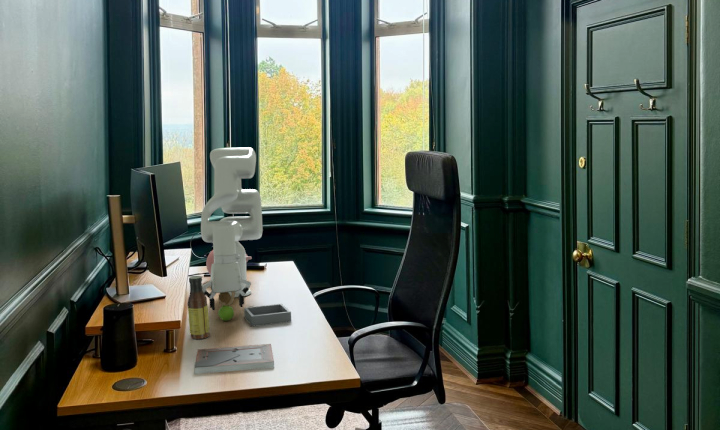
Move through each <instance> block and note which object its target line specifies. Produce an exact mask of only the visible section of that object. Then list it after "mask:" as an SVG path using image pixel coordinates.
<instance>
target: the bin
mask: <svg viewBox="0 0 720 430" xmlns="http://www.w3.org/2000/svg"><path fill="white" fill-rule="evenodd" d="M243 311H244V318H245V320H246V321H247V322H248V323H249V324H250V326H251V327H252V326H253V327H259V326H267V325H276V324H283V323H292V311H291V310H289V309H288V307H286V306H285V305H284V304H283V303H275V304H266V305H265V304H264V305H257V306H250V307H244V309H243Z"/></svg>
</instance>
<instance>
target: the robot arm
mask: <svg viewBox="0 0 720 430" xmlns="http://www.w3.org/2000/svg"><path fill="white" fill-rule="evenodd" d="M209 159H210V163H211V166H212V167H213V169H214V172H213V173H214V174H213V175H214V183H213V184H214V187H213V189H214V190H213V192H214V193H213V195H212V197H211V198H210V199H209V200H208V201H207V202H206V204H205V205H204V206H203V209H202V212H201V215H200V219H201V220H200V235H201V239H202V240H203V241H204V242H205V243H211V244H212V245H213V246H212V247H213V249H212V250H214V263H213V264H212V266H211V275H210V280H209V281H208V282H206V283H204V284H203V285H202V291H203V292H204V294H205V296H206V298H207V299H209V308H210V309H211V310H212V311H215V310H216V303H215V300H216V299H215V298H214V297H215V296H216V294H220V293H225V292H228V293H229V294H230V295H232V293H231V292H234V291H235V297H234V298H238V306H239V307H240V308H243V307H244V305H245V297H247V296H249V295H251V294H252V290H251V289H250V288H251V285H252V282H251V281H249V280H248V277H247V276H248V275H247V262H246V254H247V253H246V250H245V249H246V248H244V246H243V245H242V244H241V243H240V242H239V241H248V240H249V241H253V240H259V239H261V238H262V236H263V231H264V229H263V214H262V212H263V211H262V208H263V207H262V199H261V198H262V197H261V194H260V192H259V191H258V190H257V189H253V188H252V189H251V188H249V189H248V188H247V189H246V188H245V189H243V188H242V179H243V180H244V179H252V178H253V177H254V175H255V173H256V164H257V163H256V162H257V154H256V151H255V150H254V148H252V147H220V148H215V149H212V150H211V151H210V153H209ZM218 209H221V211H222V212H223V213H225V214H235V215H236V214H237V215H238V214H249V216H246V215H245V216H227V217H223V218H221V219H220V220H212V221H210V218H211V215H212V214H213V213H214V212H215V211H216V210H218ZM209 287H210V290H211V291H210V292H208V291H207V289H208V288H209Z"/></svg>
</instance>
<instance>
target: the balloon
mask: <svg viewBox="0 0 720 430" xmlns="http://www.w3.org/2000/svg"><path fill="white" fill-rule="evenodd" d="M252 259H253V258H252V256H248V254H247V253H246V263H248V261H249V260H252ZM213 263H214V250H213V249H212V250H211V251H210V252H209V254H208V255H207V258H206V263H205V264H206V265H205V266H206V270H207V272H208V274H209V275H210V276H211V266H212V264H213Z"/></svg>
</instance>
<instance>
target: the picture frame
mask: <svg viewBox="0 0 720 430" xmlns="http://www.w3.org/2000/svg"><path fill="white" fill-rule="evenodd" d="M195 357H196V358H195V362H194V374H195V375H198V374H209V373H210V374H211V373H222V372H223V373H225V372H235V371H247V370H261V369H268V368H269V369H271V368H273V369H274V368H275V360H274V352H273V348H272V343H263V344H261V343H260V344H253V345H252V344H250V345H248V344H247V345H239V346H238V345H236V346H235V345H234V346H223V347H210V348H209V347H208V348H197V351H196V356H195Z"/></svg>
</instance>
